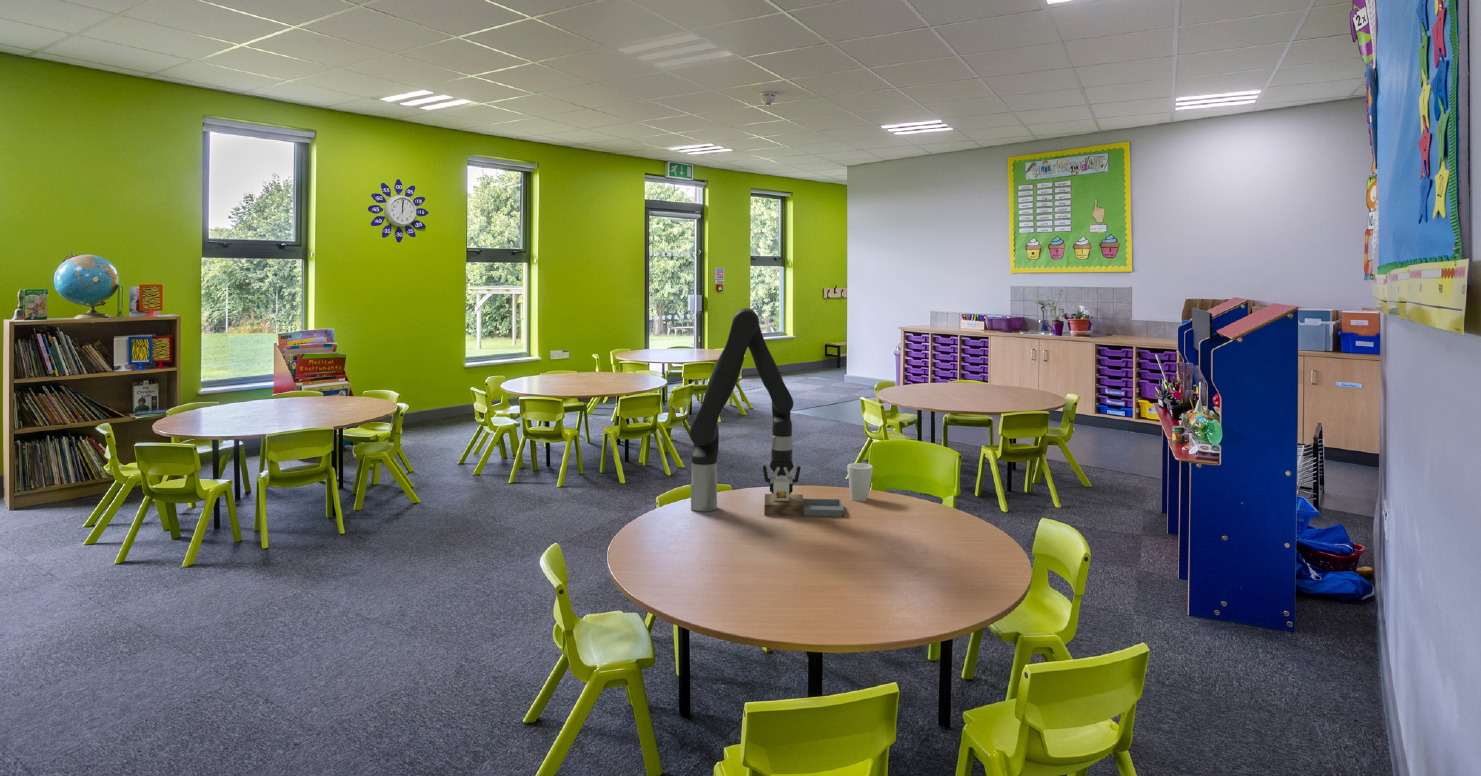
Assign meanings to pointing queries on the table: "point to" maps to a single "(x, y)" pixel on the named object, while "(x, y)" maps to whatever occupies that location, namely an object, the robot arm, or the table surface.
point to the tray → (823, 507)
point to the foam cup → (859, 480)
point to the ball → (781, 495)
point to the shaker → (781, 488)
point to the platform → (784, 506)
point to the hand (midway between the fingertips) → (781, 493)
